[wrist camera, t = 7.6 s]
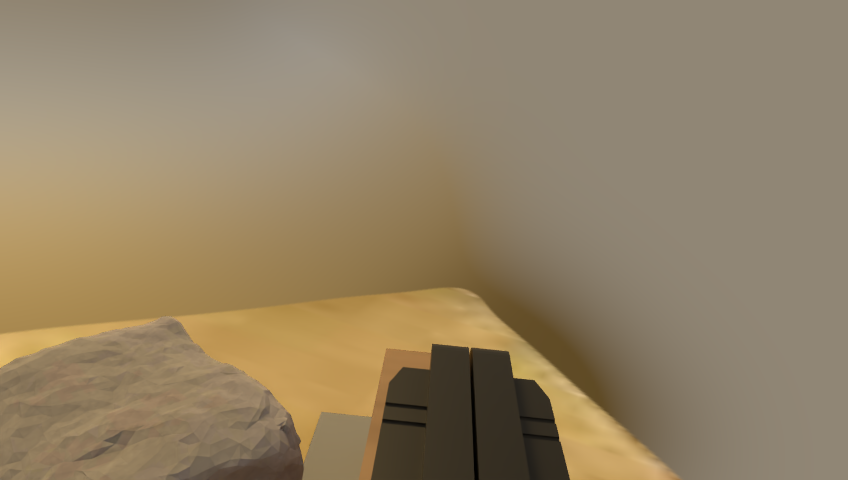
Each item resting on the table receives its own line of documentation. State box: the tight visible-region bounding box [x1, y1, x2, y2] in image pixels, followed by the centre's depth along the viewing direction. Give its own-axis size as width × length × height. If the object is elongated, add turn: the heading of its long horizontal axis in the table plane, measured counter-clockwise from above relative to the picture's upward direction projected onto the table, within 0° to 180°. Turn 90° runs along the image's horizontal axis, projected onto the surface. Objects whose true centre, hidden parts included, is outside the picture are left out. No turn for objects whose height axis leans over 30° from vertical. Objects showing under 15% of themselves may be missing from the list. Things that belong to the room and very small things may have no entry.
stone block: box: [0, 316, 304, 480], centre depth 19 cm, size 12×5×10 cm
